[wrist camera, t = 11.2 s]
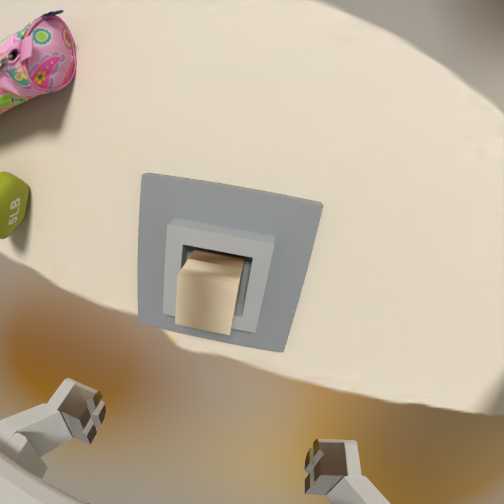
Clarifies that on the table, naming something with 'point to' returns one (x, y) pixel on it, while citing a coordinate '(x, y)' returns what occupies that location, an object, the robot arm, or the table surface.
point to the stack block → (209, 290)
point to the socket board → (230, 241)
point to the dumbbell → (12, 203)
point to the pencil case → (36, 61)
